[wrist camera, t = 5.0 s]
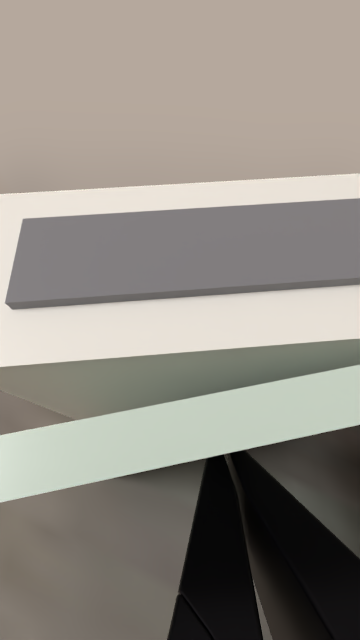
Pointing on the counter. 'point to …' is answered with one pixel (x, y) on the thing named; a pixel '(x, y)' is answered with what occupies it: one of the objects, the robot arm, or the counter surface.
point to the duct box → (176, 290)
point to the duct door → (176, 432)
